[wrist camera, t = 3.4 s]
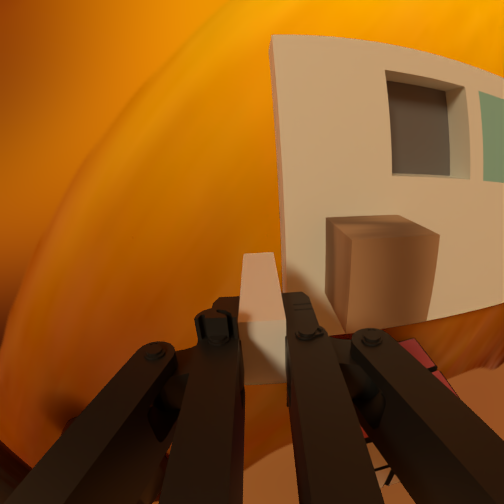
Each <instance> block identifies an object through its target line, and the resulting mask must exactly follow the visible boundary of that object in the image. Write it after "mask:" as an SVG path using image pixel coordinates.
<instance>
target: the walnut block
mask: <svg viewBox="0 0 504 504" xmlns="http://www.w3.org/2000/svg"><path fill="white" fill-rule="evenodd" d="M439 240H440V235H439V234H437V233H435V232H433V231H431V230H429V229H427V228H425V227H423V226H421V225H419V224H417V223H415V222H413V221H411V220H408V219H406V218H404V217H402V216H400V215H373V216H347V217H326V256H325V294H326V296H327V298H328V300H329V302H330V304H331V306H332V308H333V310H334V312H335V314H336V316H337V318H338V320H339V322H340V324H341V326H342V328H343V330H344V332H345V334H351V333H355V332H356V331H358V330H360V329H365V328H376V329H385V328H391V327H397V326H403V325H408V324H414V323H419V322H424V321H426V320H427V316H428V311H429V306H430V301H431V296H432V290H433V284H434V278H435V272H436V265H437V257H438V249H439Z"/></svg>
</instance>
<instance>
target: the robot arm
mask: <svg viewBox="0 0 504 504" xmlns="http://www.w3.org/2000/svg"><path fill="white" fill-rule="evenodd" d="M194 320H195V326H196V331H197V336H198V343H197V345H196V346H194V347H192V348H188V349H185V350H180V351H175V349H174V347H173V346H172V345H171V344H170V343H167V342H158V341H157V342H151V343H148V344H146V345H144V346H142V347H141V348H140V349H138V350H137V352H136V353H135V354H134V355H133V356H132V357H131V358H130V359H129V360H128V361H127V363H126V364H125V365H124V366H123V367H122V368H121V369H120V370H119V371H118V372H117V374H116V375H115V376H114V377H113V378H112V379H111V380H110V381H109V382H108V384H107V385H106V386H105V387H104V388H103V389H102V390H101V391H100V392H99V394H98V395H97V396H96V397H95V398H94V399H93V400H92V401H91V403H90V404H89V405H88V406H87V407H86V408H85V409H84V410H83V412H82V413H81V414H80V415H79V416H78V417H75V418H72V419H71V420H69V421H68V422H67V424H66V426H65V428H64V430H63V432H62V434H61V437H60V438H59V439H58V440H57V441H56V442H55V443H54V445H53V446H52V447H51V448H50V449H49V450H48V452H47V453H46V454H45V455H44V456H43V457H42V458H41V460H40V461H39V462H38V463H37V464H36V465H35V467H34V468H33V469H32V468H31V467H30V466H29V465H28V464H26V463H25V462H24V461H23V460H22V459H20V458H19V457H18V456H17V455H16V454H15V453H14V452H12V451H11V450H10V449H9V448H8V447H7V446H6V445H5V444H4V443H3V442H2V441H1V440H0V504H152V503H153V502H154V500H155V499H156V497H157V496H158V495H159V493H160V492H161V495H160V499H159V504H243V463H244V422H245V389H244V383H245V385H258V384H275V383H286V379H287V407H289V414H290V423H291V431H292V440H293V449H294V458H295V467H296V476H297V485H298V495H299V504H384V500H383V497H382V493H381V490H380V486H379V483H378V480H377V477H376V473H375V470H374V467H373V463H372V460H371V457H370V454H369V451H368V448H367V445H366V441H365V438H364V435H363V432H362V429H361V427H362V428H363V430H364V431H365V432H366V434H367V435H368V437H369V438H370V440H371V441H372V442H373V444H374V445H375V447H376V448H377V449H378V451H379V452H380V454H381V455H382V457H383V458H384V459H385V461H386V462H387V464H388V465H389V466H390V468H391V469H392V471H393V472H394V473H395V475H396V476H397V478H398V479H399V481H400V482H401V483H402V484H403V486H404V488H405V489H406V490H407V492H408V493H409V495H410V496H411V497H412V499H413V500H414V502H415V503H416V504H504V441H503V440H502V439H501V438H500V437H499V436H498V435H497V434H496V433H495V432H494V431H493V430H492V429H491V428H490V427H489V426H488V425H487V424H486V423H485V422H484V421H483V420H482V419H481V418H480V417H478V416H477V415H476V414H475V413H474V412H473V411H472V410H471V409H470V408H469V407H468V406H467V405H466V404H465V403H464V402H463V401H462V400H460V399H459V398H458V397H457V396H456V395H455V394H454V393H453V392H452V391H451V390H450V389H449V388H448V387H446V386H445V385H444V384H443V383H442V382H441V381H440V380H439V379H438V378H437V377H436V376H435V375H433V374H432V373H431V372H430V371H429V370H428V369H427V368H426V367H425V366H424V365H422V364H421V363H420V362H419V361H418V360H417V359H416V358H415V357H414V356H412V355H411V354H410V353H409V352H408V351H407V350H406V349H405V348H404V347H402V346H401V345H400V344H399V343H398V342H397V341H396V340H395V339H393V338H392V337H391V336H390V335H389V334H388V333H386V332H384V331H383V330H380V329H376V328H365V329H360V330H358V331H356V332H355V333H354V334H353V335H352V340H346V339H337V338H333V337H330V336H328V333H327V331H326V330H325V329H324V328H323V327H321V326H319V323H318V320H317V318H316V315H315V312H314V309H313V307H312V304H311V301H310V298H309V296H307V295H306V294H305V293H303V292H288V293H281V290H280V285H279V280H278V274H277V269H276V264H275V259H274V254H273V252H268V253H252V254H244V257H243V268H242V279H241V291H240V296H237V297H219V298H218V299H217V300H216V301H215V302H214V303H213V306H212V308H211V309H207V310H204V311H202V312H200V313H199V314H197V315H196V317H195V318H194ZM360 425H361V426H360ZM172 441H173V442H172ZM171 443H172V446H171V450H170V455H169V459H168V460H167V458H166V456H165V454H166V452H167V450H168V448H169V447H170V445H171Z"/></svg>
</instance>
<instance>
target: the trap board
mask: <svg viewBox="0 0 504 504" xmlns="http://www.w3.org/2000/svg"><path fill="white" fill-rule="evenodd" d="M269 59H270V70H271V82H272V95H273V108H274V122H275V137H276V152H277V169H278V186H279V206H280V227H281V252H282V281H283V293H288V292H303V293H305V294H306V295H307V296H309V298H310V301H311V304H312V307H313V309H314V312H315V315H316V318H317V320H318V323H319V326H321V327H323V328H324V329H325V330H326V331H327V333H328V336H332V335H340V334H345V332H344V330H343V328H342V326H341V324H340V322H339V320H338V318H337V316H336V314H335V312H334V310H333V308H332V306H331V304H330V302H329V300H328V298H327V296H326V294H325V256H326V217H347V216H373V215H400V216H402V217H404V218H406V219H408V220H411V221H413V222H415V223H417V224H419V225H421V226H423V227H425V228H427V229H429V230H431V231H433V232H435V233H437V234H439V235H440V240H439V249H438V257H437V265H436V272H435V278H434V284H433V290H432V296H431V301H430V306H429V311H428V316H427V320H426V321H428V320H433V319H438V318H443V317H448V316H452V315H457V314H461V313H465V312H470V311H474V310H478V309H482V308H486V307H490V306H493V305H497V304H501V303H504V78H502V77H500V76H497V75H495V74H492V73H490V72H487V71H485V70H482V69H479V68H476V67H474V66H471V65H468V64H465V63H462V62H459V61H456V60H452V59H449V58H446V57H442V56H439V55H435V54H431V53H427V52H423V51H419V50H415V49H411V48H406V47H401V46H396V45H391V44H385V43H379V42H373V41H366V40H359V39H350V38H340V37H329V36H313V35H272V36H271V42H270V47H269Z"/></svg>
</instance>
